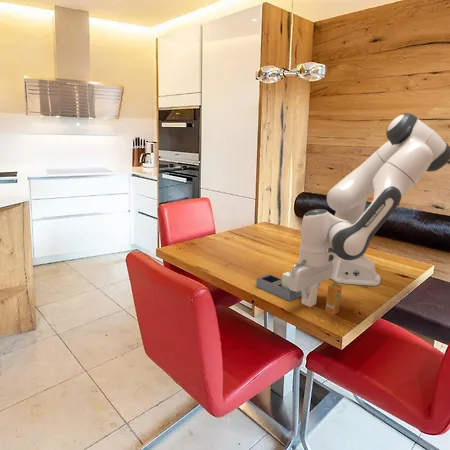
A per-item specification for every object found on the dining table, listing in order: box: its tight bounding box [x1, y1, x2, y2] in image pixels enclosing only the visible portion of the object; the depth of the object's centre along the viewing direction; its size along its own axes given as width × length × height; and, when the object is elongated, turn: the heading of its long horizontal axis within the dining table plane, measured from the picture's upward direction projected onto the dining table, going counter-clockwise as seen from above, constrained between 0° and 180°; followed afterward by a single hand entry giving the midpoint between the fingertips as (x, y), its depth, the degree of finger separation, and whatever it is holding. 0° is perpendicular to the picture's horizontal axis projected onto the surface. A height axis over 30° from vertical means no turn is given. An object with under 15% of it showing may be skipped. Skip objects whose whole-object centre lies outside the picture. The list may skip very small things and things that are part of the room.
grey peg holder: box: [255, 273, 302, 302], centre depth 139 cm, size 16×7×4 cm, turn 41°
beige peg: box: [281, 271, 290, 290], centre depth 135 cm, size 3×3×8 cm
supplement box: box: [324, 282, 343, 316], centre depth 123 cm, size 3×3×10 cm
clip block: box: [301, 283, 319, 308], centre depth 129 cm, size 4×4×8 cm
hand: (309, 296), depth 129 cm, fingers closed on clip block, 3 cm apart
